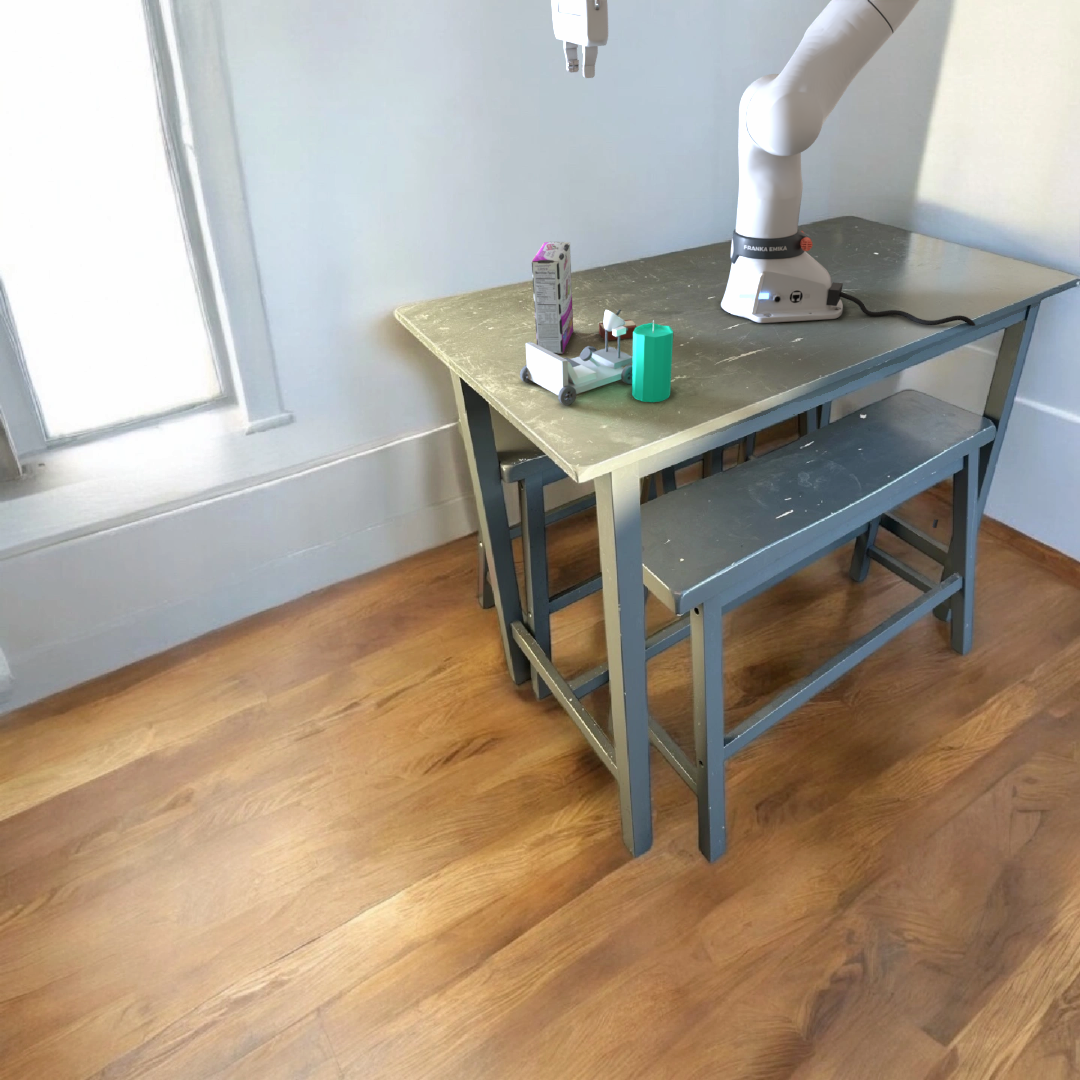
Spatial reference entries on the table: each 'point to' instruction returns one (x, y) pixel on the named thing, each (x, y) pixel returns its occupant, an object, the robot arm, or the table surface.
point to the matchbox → (629, 334)
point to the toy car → (579, 365)
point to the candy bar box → (553, 296)
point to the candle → (652, 362)
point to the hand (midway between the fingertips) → (580, 74)
